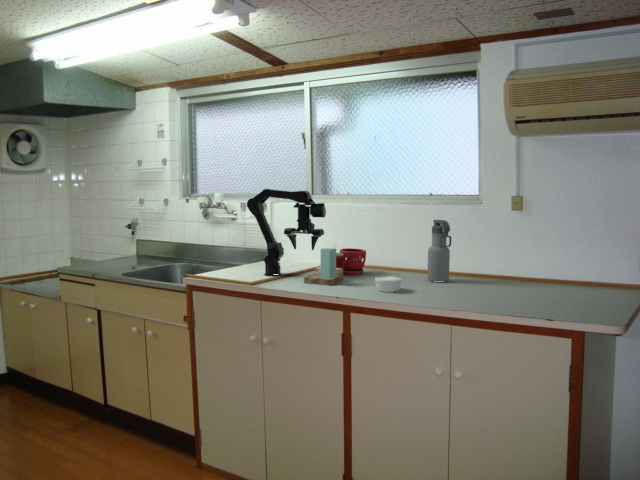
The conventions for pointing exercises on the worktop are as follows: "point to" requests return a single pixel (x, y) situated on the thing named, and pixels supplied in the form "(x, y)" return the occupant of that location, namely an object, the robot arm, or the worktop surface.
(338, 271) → the beam
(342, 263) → the canned food
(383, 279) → the ramekin
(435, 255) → the water bottle
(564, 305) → the worktop surface
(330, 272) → the column
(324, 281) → the baseplate
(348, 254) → the plant pot
